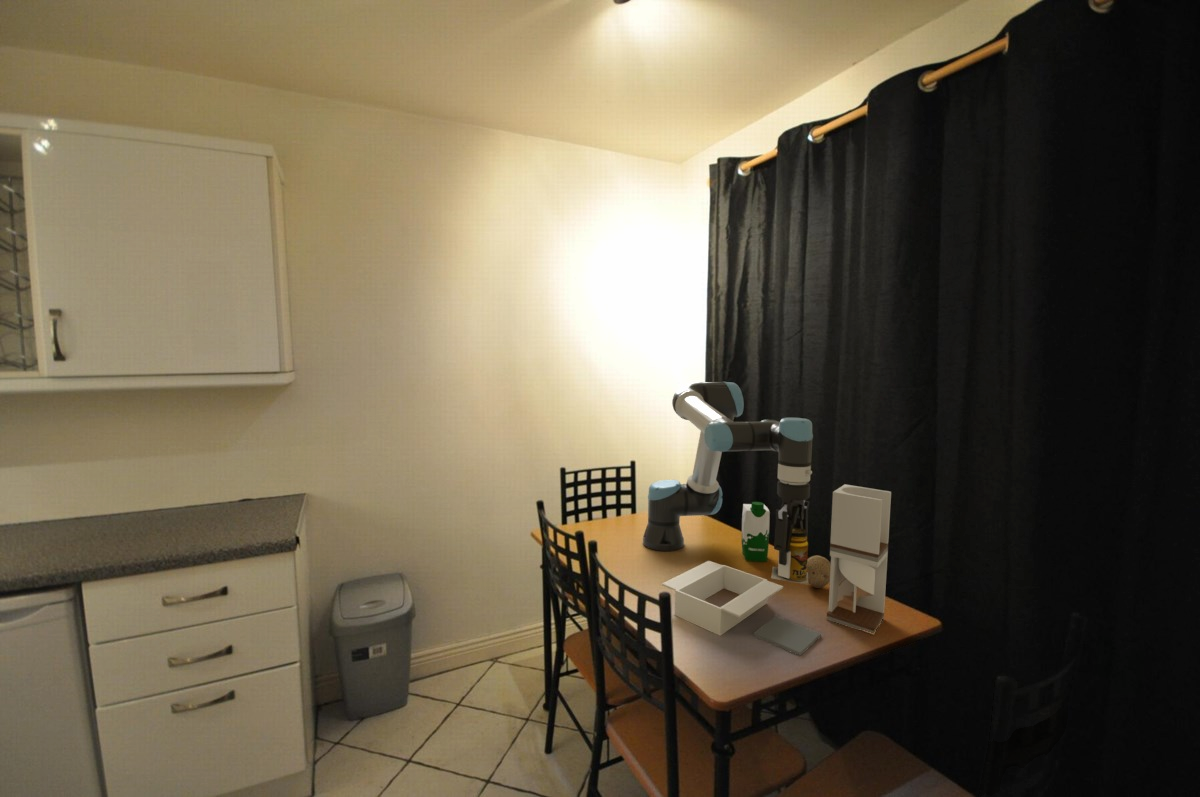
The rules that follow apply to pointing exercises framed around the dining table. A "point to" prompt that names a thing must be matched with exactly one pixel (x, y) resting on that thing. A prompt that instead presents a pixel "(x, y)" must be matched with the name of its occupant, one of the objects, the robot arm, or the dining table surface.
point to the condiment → (796, 558)
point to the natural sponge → (818, 571)
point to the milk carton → (755, 531)
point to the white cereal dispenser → (858, 556)
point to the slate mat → (787, 635)
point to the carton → (710, 581)
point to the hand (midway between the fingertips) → (790, 572)
